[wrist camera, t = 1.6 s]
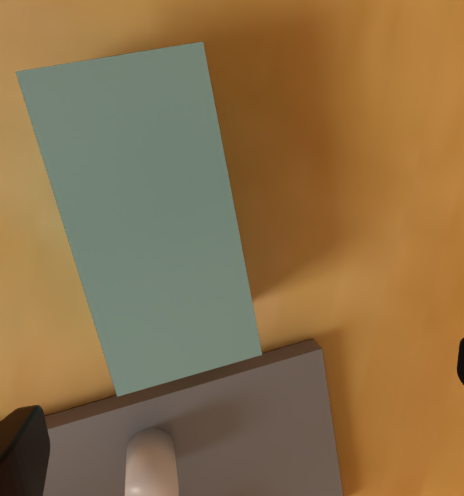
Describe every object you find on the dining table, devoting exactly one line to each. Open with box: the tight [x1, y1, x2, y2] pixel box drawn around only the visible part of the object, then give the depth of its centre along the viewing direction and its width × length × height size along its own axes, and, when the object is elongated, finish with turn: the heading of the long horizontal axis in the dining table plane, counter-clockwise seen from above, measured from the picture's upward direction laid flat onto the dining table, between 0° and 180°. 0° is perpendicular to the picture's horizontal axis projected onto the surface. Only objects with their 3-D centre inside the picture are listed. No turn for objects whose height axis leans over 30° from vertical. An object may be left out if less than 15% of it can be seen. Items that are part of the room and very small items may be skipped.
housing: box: [16, 42, 262, 397], centre depth 17 cm, size 6×12×5 cm, turn 11°
